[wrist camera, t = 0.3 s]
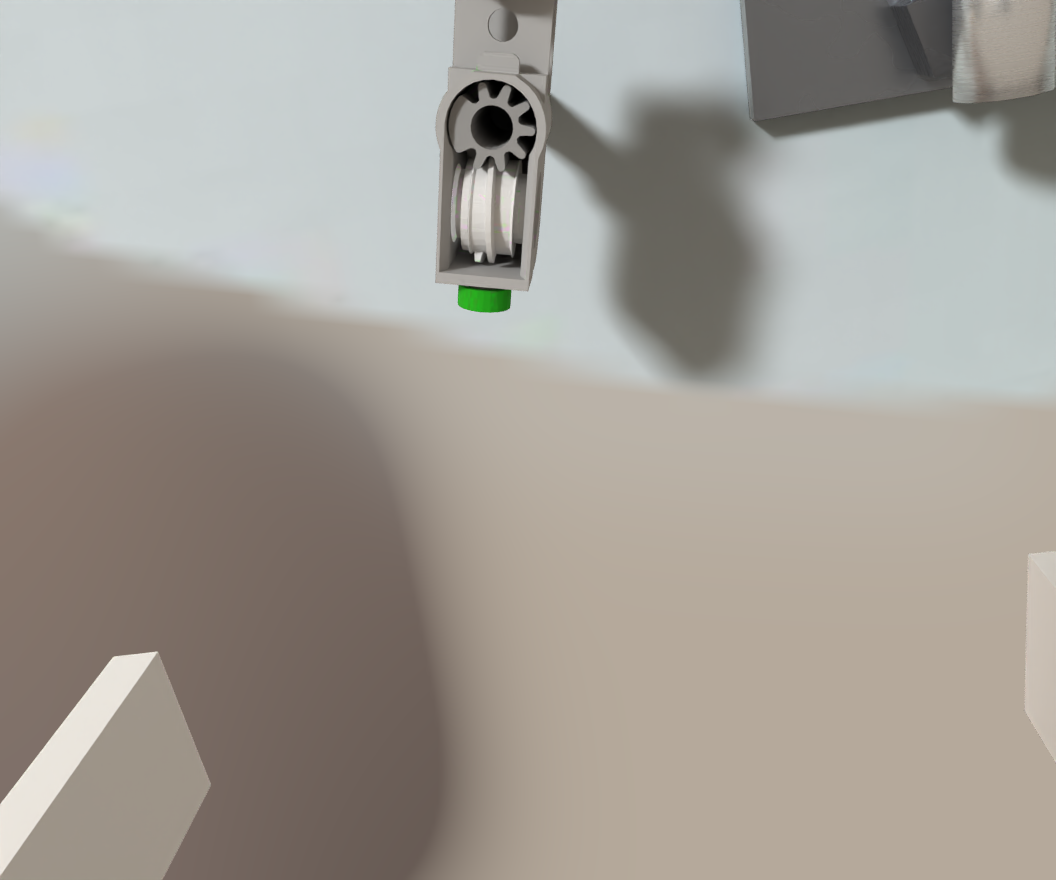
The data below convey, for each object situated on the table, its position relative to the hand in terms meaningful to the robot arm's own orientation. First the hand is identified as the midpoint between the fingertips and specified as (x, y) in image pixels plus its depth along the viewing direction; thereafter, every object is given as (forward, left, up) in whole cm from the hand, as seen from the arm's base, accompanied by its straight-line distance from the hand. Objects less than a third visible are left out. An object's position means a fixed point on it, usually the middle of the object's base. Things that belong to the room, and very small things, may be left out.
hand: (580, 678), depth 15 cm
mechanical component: (-7, -2, -25) cm, 26 cm away
